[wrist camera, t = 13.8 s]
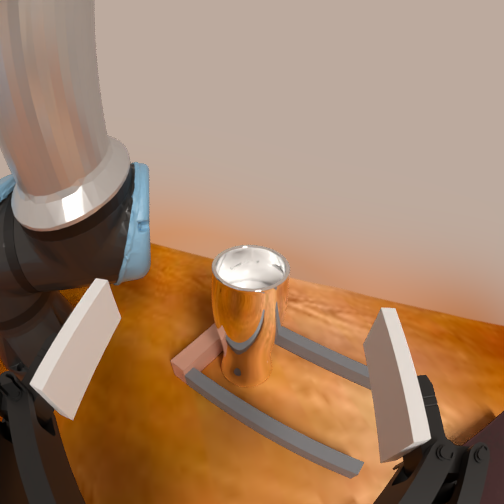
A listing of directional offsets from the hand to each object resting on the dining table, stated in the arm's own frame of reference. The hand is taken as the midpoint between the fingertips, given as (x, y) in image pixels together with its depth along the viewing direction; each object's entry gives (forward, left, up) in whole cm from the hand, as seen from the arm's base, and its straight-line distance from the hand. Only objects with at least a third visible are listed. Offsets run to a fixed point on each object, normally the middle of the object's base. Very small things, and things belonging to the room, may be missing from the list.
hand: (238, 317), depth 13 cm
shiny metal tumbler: (-5, +9, -19) cm, 22 cm away
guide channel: (0, +9, -19) cm, 21 cm away
